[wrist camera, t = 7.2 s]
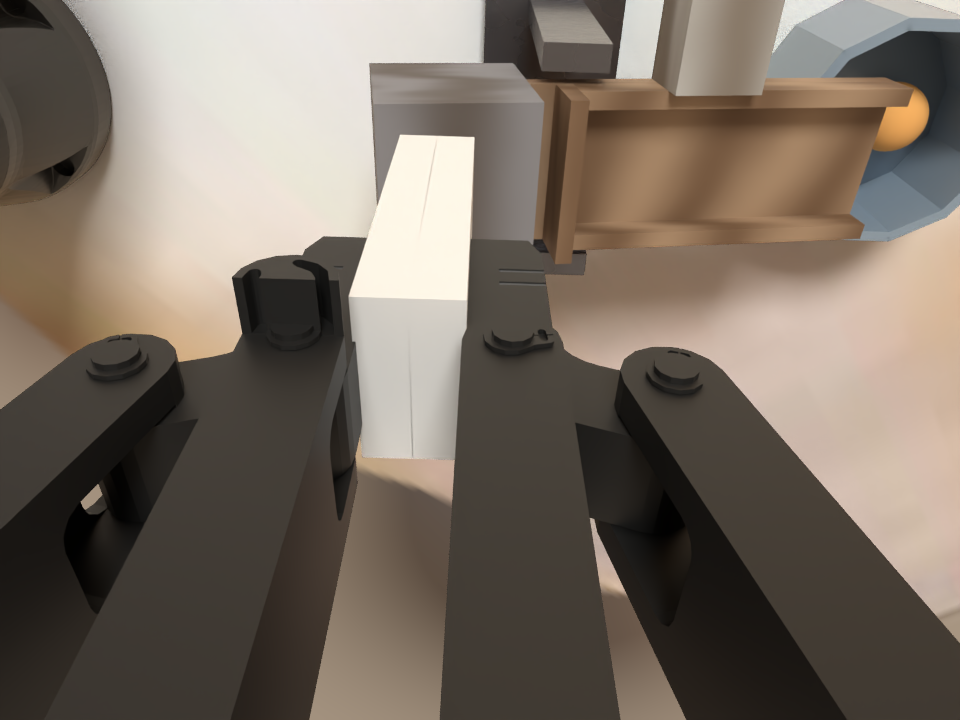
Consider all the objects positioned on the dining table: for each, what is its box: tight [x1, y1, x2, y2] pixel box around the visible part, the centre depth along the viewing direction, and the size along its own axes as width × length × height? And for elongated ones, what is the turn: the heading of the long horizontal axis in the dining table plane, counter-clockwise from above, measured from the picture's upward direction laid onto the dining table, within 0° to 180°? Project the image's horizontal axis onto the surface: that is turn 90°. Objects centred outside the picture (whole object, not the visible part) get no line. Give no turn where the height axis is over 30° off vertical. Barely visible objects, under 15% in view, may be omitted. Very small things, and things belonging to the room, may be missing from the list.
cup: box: [766, 0, 960, 241], centre depth 42 cm, size 12×12×7 cm
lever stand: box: [484, 0, 626, 275], centre depth 40 cm, size 8×13×14 cm, turn 178°
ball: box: [872, 82, 929, 152], centre depth 43 cm, size 4×4×4 cm
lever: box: [369, 0, 914, 264], centre depth 34 cm, size 25×14×7 cm, turn 88°
